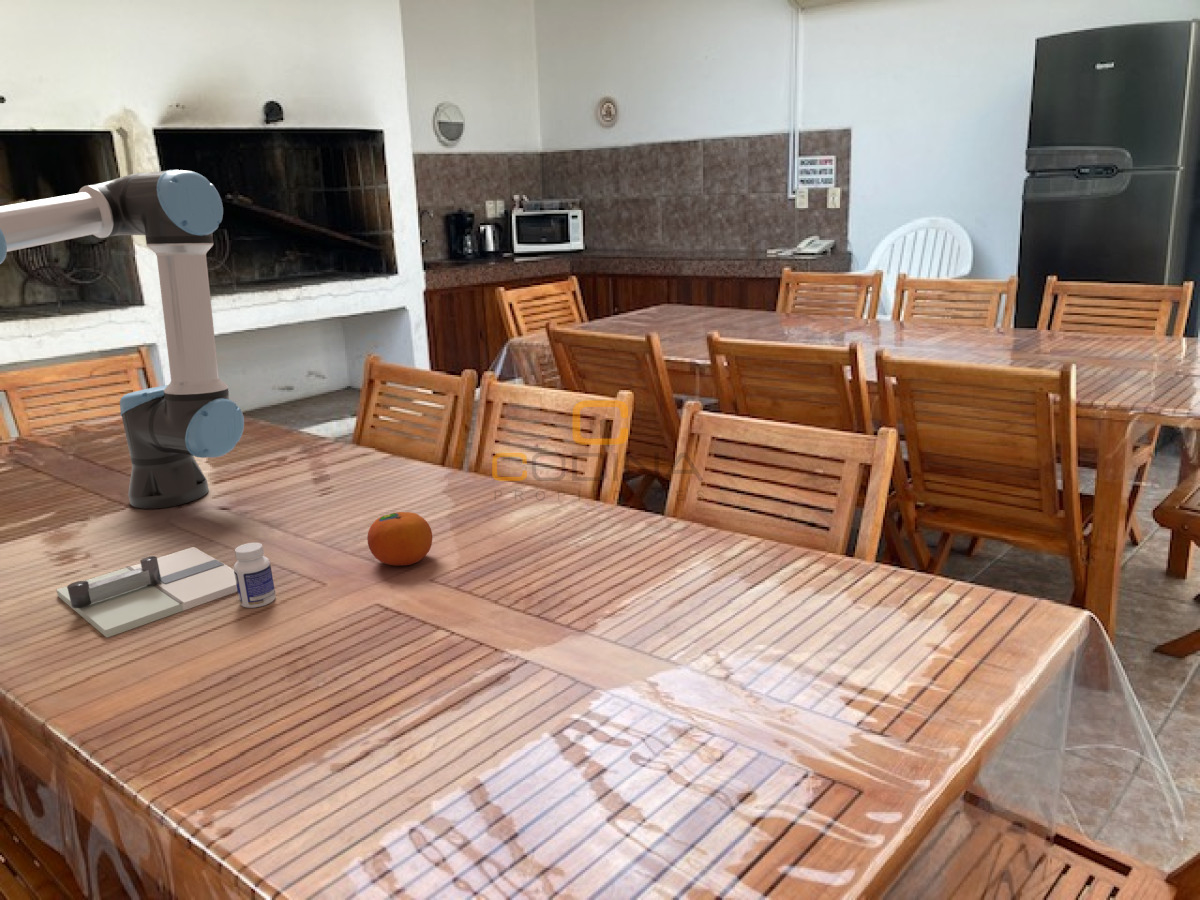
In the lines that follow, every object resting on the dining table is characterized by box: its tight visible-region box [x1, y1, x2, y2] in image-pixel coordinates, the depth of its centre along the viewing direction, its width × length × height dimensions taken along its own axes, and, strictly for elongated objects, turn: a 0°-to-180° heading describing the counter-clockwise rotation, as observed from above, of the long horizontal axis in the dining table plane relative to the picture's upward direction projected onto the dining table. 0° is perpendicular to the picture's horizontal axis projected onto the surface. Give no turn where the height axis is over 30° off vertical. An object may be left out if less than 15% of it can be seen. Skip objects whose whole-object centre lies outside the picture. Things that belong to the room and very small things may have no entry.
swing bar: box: [66, 555, 162, 608], centre depth 145 cm, size 13×3×4 cm, turn 135°
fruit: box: [366, 511, 433, 567], centre depth 155 cm, size 11×10×8 cm
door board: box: [56, 546, 238, 638], centre depth 149 cm, size 22×22×1 cm
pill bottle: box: [233, 542, 277, 609], centre depth 142 cm, size 5×5×9 cm
